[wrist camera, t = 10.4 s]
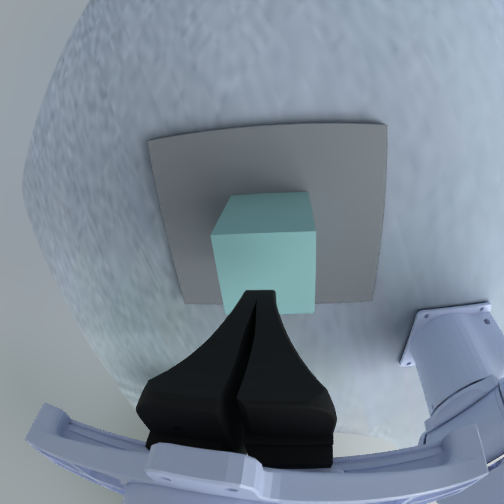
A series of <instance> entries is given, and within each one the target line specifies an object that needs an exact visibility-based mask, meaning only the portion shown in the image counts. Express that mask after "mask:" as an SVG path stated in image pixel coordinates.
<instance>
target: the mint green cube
mask: <svg viewBox="0 0 504 504" xmlns="http://www.w3.org/2000/svg"><path fill="white" fill-rule="evenodd" d="M211 241H212V247H213V252H214V258H215V263H216V268H217V274H218V279H219V284H220V289H221V294H222V299H223V305H224V309H225V314H230V313H231V311H232V310H233V309H234V307H235V306H236V304H237V303H238V301H239V300H240V298H241V296H242V295H243V293H244V292H245V291H246V290H274V291H275V292H276V303H277V308H278V312H279V314H308V313H314V310H315V280H316V228H315V223H314V217H313V212H312V207H311V202H310V196H309V192H285V193H263V194H245V195H231V197H230V199H229V200H228V202H227V204H226V206H225V208H224V210H223V212H222V214H221V216H220V218H219V219H218V221H217V223H216V225H215V227H214V229H213V231H212V233H211Z"/></svg>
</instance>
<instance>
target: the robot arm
mask: <svg viewBox="0 0 504 504" xmlns="http://www.w3.org/2000/svg"><path fill="white" fill-rule="evenodd" d="M491 307H492V305H491V303H490V302H487V303H480V304H473V305H465V306H457V307H448V308H439V309H430V310H421V311H419V312H418V313H417V314H416V317H415V321H414V324H413V327H412V330H411V333H410V336H409V339H408V342H407V344H406V347H405V350H404V353H403V355H402V358H401V361H400V366H401V367H407V366H414V365H416V368H417V371H418V374H419V378H420V381H421V384H422V388H423V391H424V395H425V398H426V402H427V406H428V409H429V413H430V418H429V419H427V420H426V421H425V422H424V423H425V427H426V431H425V432H424V433H423V434H422V435H421V437H420V439H419V443H418V446H415V447H410V448H405V449H399V450H394V451H388V452H382V453H375V454H367V455H358V456H348V457H336V458H333V446H332V445H333V432H334V429H335V426H336V422H337V416H336V411H335V408H334V405H333V402H332V400H331V397H330V395H329V393H328V391H327V389H326V388H325V387H324V386H323V385H322V384H321V383H320V382H319V381H318V380H317V379H316V377H315V376H314V375H313V374H312V373H311V371H310V370H309V369H308V367H307V366H306V365H305V363H304V362H303V361H302V359H301V358H300V356H299V355H298V353H297V351H296V350H295V348H294V346H293V345H292V343H291V341H290V339H289V337H288V335H287V333H286V330H285V328H284V326H283V323H282V320H281V318H280V315H279V312H278V308H277V303H276V292H275V291H274V290H246V291H245V292H244V293H243V295H242V296H241V298H240V300H239V301H238V303H237V304H236V306H235V307H234V309H233V310H232V311H231V313H230V314H229V315H228V317H227V318H226V319H225V321H224V322H223V323H222V324H221V325H220V327H219V328H218V329H217V330H216V331H215V332H214V334H213V335H212V336H211V337H210V338H209V339H208V340H207V341H206V342H205V343H204V344H203V345H202V346H200V347H199V348H198V349H197V350H196V351H195V352H193V353H192V354H191V355H190V356H188V357H187V358H186V359H184V360H183V361H182V362H180V363H179V364H177V365H176V366H174V367H172V368H171V369H169V370H167V371H166V372H164V373H162V374H160V375H158V376H156V377H154V378H152V379H150V380H149V381H148V383H147V384H146V386H145V388H144V390H143V392H142V394H141V397H140V399H139V401H138V404H137V406H136V412H137V414H138V415H139V417H140V419H141V420H142V421H143V422H144V424H145V425H146V426H147V427H148V429H149V430H150V433H149V436H148V439H147V442H144V441H140V440H136V439H132V438H128V437H124V436H121V435H117V434H114V433H111V432H107V431H104V430H101V429H98V428H94V427H92V426H89V425H86V424H83V423H80V422H78V421H75V420H72V419H70V417H69V416H68V415H67V414H66V413H65V412H64V411H63V410H61V409H59V408H57V407H55V406H52V405H50V404H48V403H44V404H43V406H42V408H41V410H40V411H39V413H38V415H37V417H36V419H35V421H34V423H33V424H32V426H31V428H30V430H29V432H28V434H27V436H26V438H25V440H26V442H28V443H29V444H30V445H32V447H34V448H35V449H36V450H37V451H39V452H40V453H41V454H43V455H44V456H45V457H47V458H48V459H49V460H51V461H52V462H53V463H55V464H57V465H59V466H61V467H63V468H65V469H67V470H69V471H71V472H73V473H75V474H77V475H79V476H81V477H83V478H85V479H87V480H89V481H92V482H94V483H96V484H98V485H100V486H102V487H105V488H107V489H110V490H112V491H114V492H117V493H119V494H122V495H124V498H123V501H122V504H427V503H430V502H433V501H436V502H437V503H438V504H504V457H503V458H502V459H500V460H499V461H497V462H495V463H493V464H492V465H490V466H488V467H487V464H488V463H490V462H491V461H493V460H495V459H496V458H498V457H500V456H501V455H503V454H504V335H503V333H502V332H501V330H500V328H499V326H498V325H497V323H496V322H495V320H494V318H493V317H492V315H491V314H490V310H491ZM426 314H427V315H426ZM247 454H248V456H247Z"/></svg>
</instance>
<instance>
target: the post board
mask: <svg viewBox="0 0 504 504" xmlns="http://www.w3.org/2000/svg"><path fill="white" fill-rule="evenodd" d="M147 144H148V150H149V155H150V160H151V166H152V171H153V176H154V181H155V186H156V190H157V195H158V200H159V204H160V209H161V213H162V218H163V222H164V226H165V231H166V235H167V239H168V243H169V247H170V251H171V255H172V259H173V262H174V266H175V270H176V274H177V277H178V281H179V285H180V288H181V292H182V295H183V299H184V302H185V304H223V299H222V294H221V289H220V284H219V279H218V274H217V268H216V263H215V258H214V252H213V247H212V241H211V233H212V231H213V229H214V227H215V225H216V223H217V221H218V219H219V218H220V216H221V214H222V212H223V210H224V208H225V206H226V204H227V202H228V200H229V199H230V197H231V195H245V194H263V193H285V192H309V196H310V202H311V207H312V212H313V217H314V223H315V228H316V280H315V303H342V302H363V301H372V299H373V294H374V288H375V282H376V275H377V268H378V261H379V254H380V246H381V237H382V228H383V218H384V206H385V192H386V174H387V125H385V124H375V123H336V122H327V123H288V124H270V125H256V126H244V127H233V128H224V129H215V130H207V131H200V132H193V133H186V134H179V135H173V136H167V137H162V138H156V139H151V140H149V141H147Z"/></svg>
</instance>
